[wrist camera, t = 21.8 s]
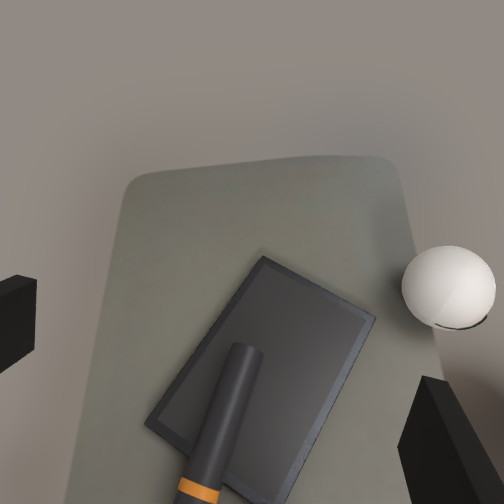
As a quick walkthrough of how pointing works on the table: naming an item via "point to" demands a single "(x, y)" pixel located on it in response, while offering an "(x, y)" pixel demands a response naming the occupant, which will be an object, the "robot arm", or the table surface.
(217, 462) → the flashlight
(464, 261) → the white sphere
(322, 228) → the table surface
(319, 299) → the tablet
